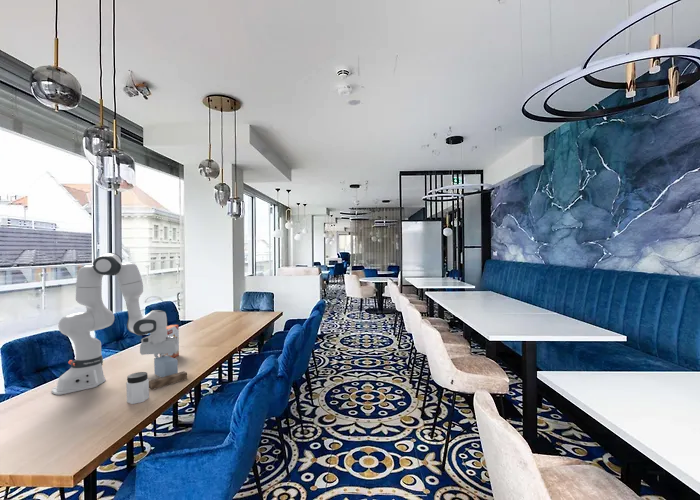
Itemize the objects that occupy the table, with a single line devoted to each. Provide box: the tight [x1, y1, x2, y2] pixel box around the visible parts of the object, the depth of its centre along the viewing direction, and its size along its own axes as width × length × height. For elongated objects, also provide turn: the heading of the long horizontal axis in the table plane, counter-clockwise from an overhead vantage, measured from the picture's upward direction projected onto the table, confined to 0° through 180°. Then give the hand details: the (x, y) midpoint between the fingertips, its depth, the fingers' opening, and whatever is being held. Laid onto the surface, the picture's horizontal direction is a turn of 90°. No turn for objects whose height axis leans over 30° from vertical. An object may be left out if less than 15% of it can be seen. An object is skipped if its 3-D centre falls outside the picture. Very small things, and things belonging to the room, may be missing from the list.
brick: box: [153, 355, 179, 378], centre depth 196 cm, size 7×14×9 cm, turn 50°
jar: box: [125, 371, 150, 405], centre depth 163 cm, size 9×8×12 cm
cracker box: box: [159, 324, 180, 358], centre depth 228 cm, size 14×6×21 cm, turn 179°
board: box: [149, 370, 188, 391], centre depth 183 cm, size 18×4×4 cm, turn 140°
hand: (159, 361), depth 202 cm, fingers closed
